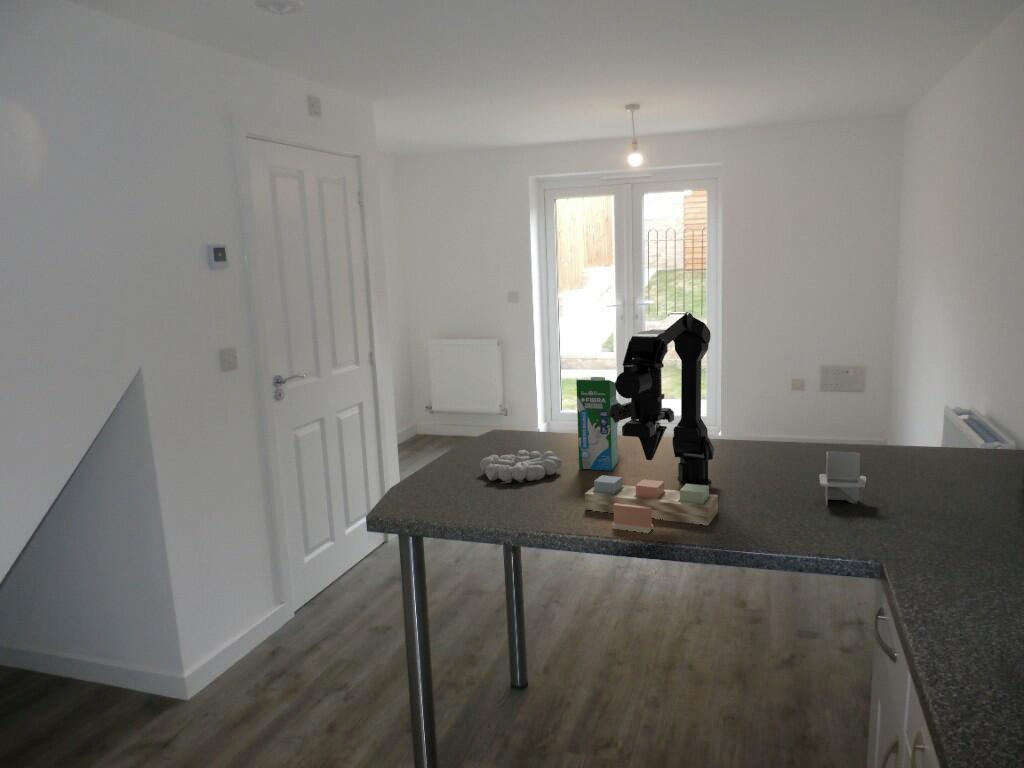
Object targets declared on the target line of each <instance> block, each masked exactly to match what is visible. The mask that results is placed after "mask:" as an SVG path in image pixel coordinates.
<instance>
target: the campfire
mask: <svg viewBox="0 0 1024 768" xmlns="http://www.w3.org/2000/svg"><path fill="white" fill-rule="evenodd" d="M562 463H563V462H562V459H561V458H559V457H557V455H556V454H555V453H554V452H553V451H551V450H547V451H545V452H544V453H543V454H542V453H541V452H540V451H537V450H533V451H530V452H529V451H528V450H526V449H521V450H518V451H517V454H516V455H515V454H511V453H510V454H502V455H501V456H499V455H497V454H491V455H490V456H486V457H484V458H483V459H482V460H481V461H480V463H479V467H480V469H481V471H482V472H485V475H486V478H488V480H489V481H496V480H498V479H500V481H503V482H507V481H510V480H513V479H514V480H515V481H517V482H522V481H524V480H527V481H529V482H530V481H531V482H532V481H540V480H542V479H543V478H544V477H545V475H547V476H552V475H554V474H556V472H557V471H558V470H560V468H561V466H562Z"/></svg>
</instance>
